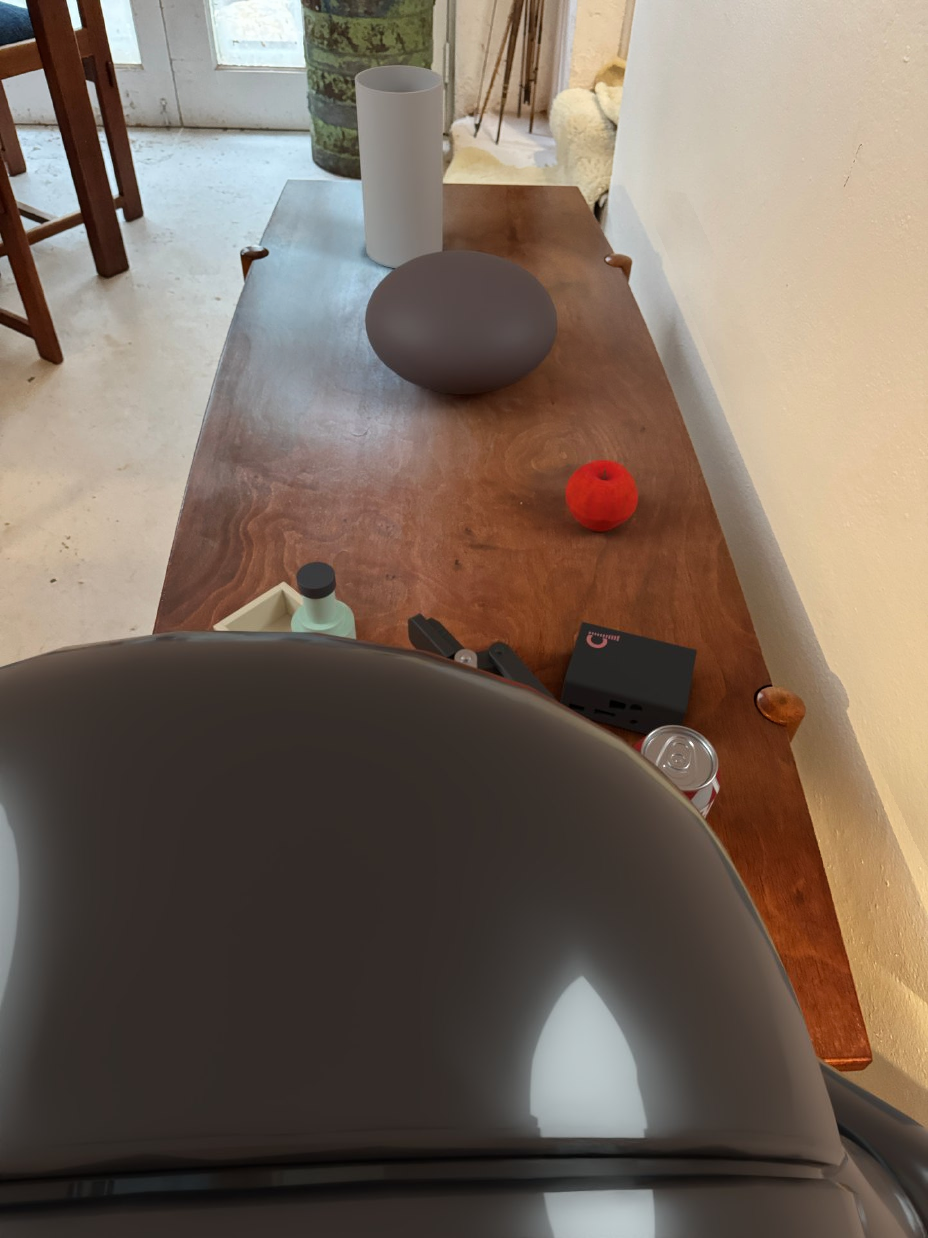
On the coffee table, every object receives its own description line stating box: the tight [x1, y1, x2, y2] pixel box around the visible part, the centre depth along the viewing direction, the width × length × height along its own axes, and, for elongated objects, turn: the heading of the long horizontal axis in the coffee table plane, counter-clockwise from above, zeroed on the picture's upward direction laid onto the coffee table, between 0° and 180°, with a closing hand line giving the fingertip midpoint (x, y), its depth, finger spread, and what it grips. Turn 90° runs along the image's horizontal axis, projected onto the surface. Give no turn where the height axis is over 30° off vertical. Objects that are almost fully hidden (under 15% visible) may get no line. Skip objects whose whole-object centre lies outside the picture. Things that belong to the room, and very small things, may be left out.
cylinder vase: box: [354, 64, 444, 269], centre depth 129 cm, size 12×12×25 cm
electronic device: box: [559, 621, 698, 736], centre depth 77 cm, size 7×11×5 cm
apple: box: [565, 459, 639, 533], centre depth 93 cm, size 8×8×7 cm
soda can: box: [632, 725, 722, 819], centre depth 65 cm, size 7×7×12 cm
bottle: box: [291, 561, 357, 639], centre depth 72 cm, size 5×5×15 cm
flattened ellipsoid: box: [364, 249, 558, 395], centre depth 110 cm, size 25×25×15 cm
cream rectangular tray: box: [212, 581, 303, 632], centre depth 78 cm, size 8×16×4 cm, turn 46°
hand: (348, 659), depth 46 cm, fingers open, 8 cm apart
